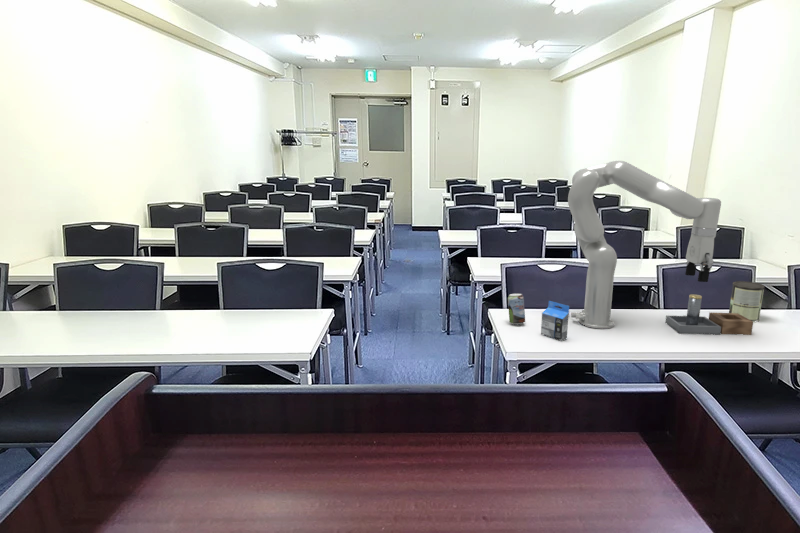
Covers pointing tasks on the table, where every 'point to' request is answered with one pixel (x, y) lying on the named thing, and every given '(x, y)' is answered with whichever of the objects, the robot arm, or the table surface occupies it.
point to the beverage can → (516, 309)
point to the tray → (703, 326)
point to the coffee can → (747, 299)
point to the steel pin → (693, 309)
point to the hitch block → (732, 323)
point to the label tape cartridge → (555, 321)
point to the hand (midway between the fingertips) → (696, 278)
